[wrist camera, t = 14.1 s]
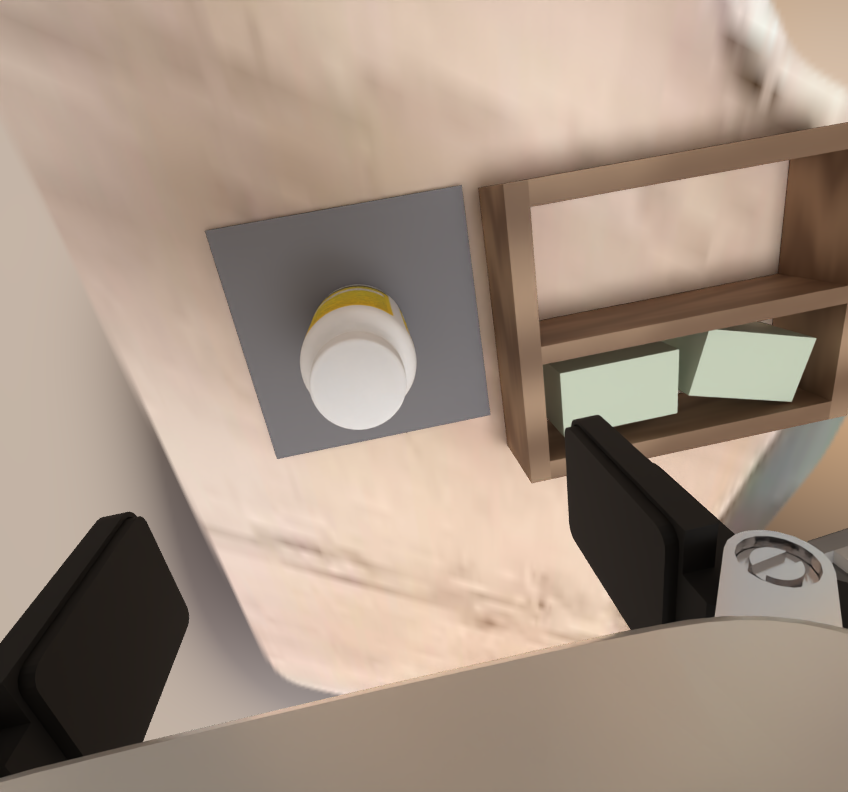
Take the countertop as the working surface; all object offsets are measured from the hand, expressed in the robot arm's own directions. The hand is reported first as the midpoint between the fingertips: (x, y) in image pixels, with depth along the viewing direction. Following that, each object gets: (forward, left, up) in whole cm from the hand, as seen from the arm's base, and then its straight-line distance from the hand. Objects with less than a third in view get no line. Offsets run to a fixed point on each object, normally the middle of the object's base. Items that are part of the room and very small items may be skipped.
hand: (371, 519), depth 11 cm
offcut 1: (+6, +14, -20) cm, 25 cm away
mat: (0, 0, -20) cm, 20 cm away
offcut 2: (+6, +22, -20) cm, 30 cm away
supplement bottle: (0, 0, -20) cm, 20 cm away
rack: (+2, +18, -20) cm, 27 cm away
